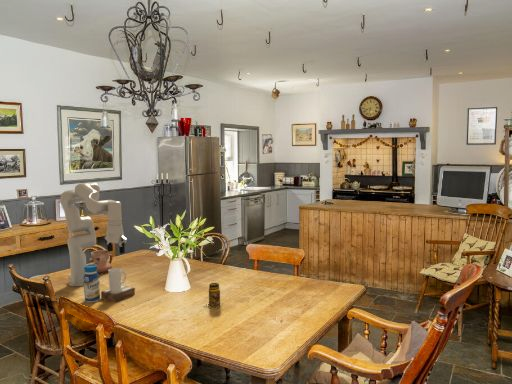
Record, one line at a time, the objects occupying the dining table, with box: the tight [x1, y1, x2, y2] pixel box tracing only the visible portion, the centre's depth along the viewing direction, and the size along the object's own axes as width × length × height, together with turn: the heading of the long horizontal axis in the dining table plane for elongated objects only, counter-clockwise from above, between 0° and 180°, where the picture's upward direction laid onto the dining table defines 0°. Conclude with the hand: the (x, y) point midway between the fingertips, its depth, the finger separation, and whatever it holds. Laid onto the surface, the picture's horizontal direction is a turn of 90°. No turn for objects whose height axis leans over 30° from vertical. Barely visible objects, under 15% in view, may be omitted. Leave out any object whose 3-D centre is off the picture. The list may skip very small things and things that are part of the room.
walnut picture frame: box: [100, 284, 136, 303], centre depth 248 cm, size 12×14×4 cm
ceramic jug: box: [88, 249, 113, 274], centre depth 300 cm, size 18×14×14 cm
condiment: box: [203, 282, 223, 309], centre depth 231 cm, size 7×8×12 cm
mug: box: [107, 267, 127, 292], centre depth 247 cm, size 10×7×12 cm, turn 133°
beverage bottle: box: [83, 263, 101, 303], centre depth 241 cm, size 8×8×20 cm
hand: (116, 252), depth 245 cm, fingers open, 9 cm apart
